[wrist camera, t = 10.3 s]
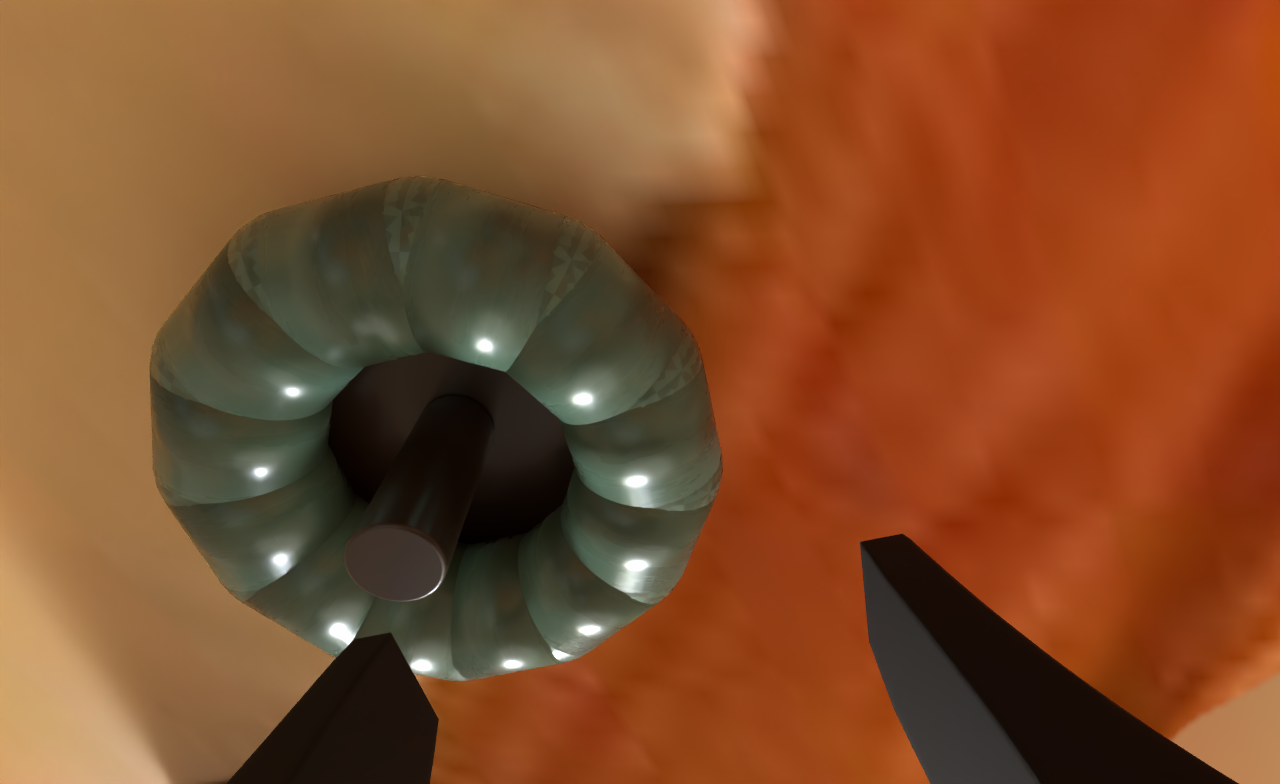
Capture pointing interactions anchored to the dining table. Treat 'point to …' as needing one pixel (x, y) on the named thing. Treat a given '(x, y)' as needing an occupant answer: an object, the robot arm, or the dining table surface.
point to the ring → (456, 328)
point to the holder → (441, 466)
